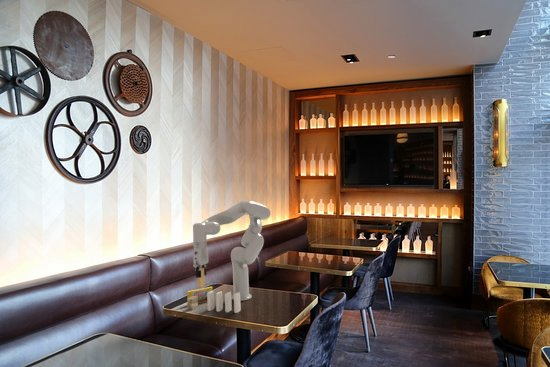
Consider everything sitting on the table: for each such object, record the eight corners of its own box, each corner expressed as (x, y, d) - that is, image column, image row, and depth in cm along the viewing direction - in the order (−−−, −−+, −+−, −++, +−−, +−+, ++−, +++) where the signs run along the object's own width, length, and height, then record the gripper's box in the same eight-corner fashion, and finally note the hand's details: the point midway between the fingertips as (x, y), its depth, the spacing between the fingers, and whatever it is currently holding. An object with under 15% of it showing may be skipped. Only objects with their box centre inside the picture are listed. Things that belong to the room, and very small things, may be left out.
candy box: (188, 305, 233) (188, 292, 233) (187, 305, 235) (186, 291, 235) (213, 300, 243) (212, 286, 243) (211, 299, 244) (211, 286, 244)
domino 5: (234, 312, 217) (233, 294, 217) (238, 309, 222) (237, 292, 222) (237, 313, 217) (236, 294, 217) (240, 310, 221) (240, 292, 221)
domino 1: (198, 287, 224) (197, 269, 224) (202, 285, 229) (201, 267, 229) (200, 287, 224) (200, 269, 224) (204, 285, 228) (204, 268, 228)
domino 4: (225, 312, 219) (224, 294, 219) (229, 309, 224) (228, 291, 224) (228, 312, 218) (227, 294, 218) (231, 309, 223) (231, 291, 223)
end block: (187, 309, 226) (187, 299, 226) (193, 306, 232) (192, 296, 232) (192, 309, 225) (192, 299, 225) (197, 306, 231) (197, 296, 231)
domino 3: (216, 311, 221) (215, 293, 221) (220, 308, 226) (219, 291, 225) (219, 311, 220) (218, 293, 220) (223, 308, 225) (222, 291, 225)
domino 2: (207, 310, 223) (207, 293, 222) (211, 307, 227) (211, 290, 227) (210, 310, 222) (209, 293, 222) (214, 308, 227) (213, 290, 227)
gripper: (198, 247, 217) (199, 280, 217) (212, 242, 233) (213, 273, 233) (186, 246, 219) (187, 279, 219) (201, 242, 236) (202, 272, 235)
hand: (201, 275), depth 226 cm, fingers closed on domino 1, 4 cm apart
